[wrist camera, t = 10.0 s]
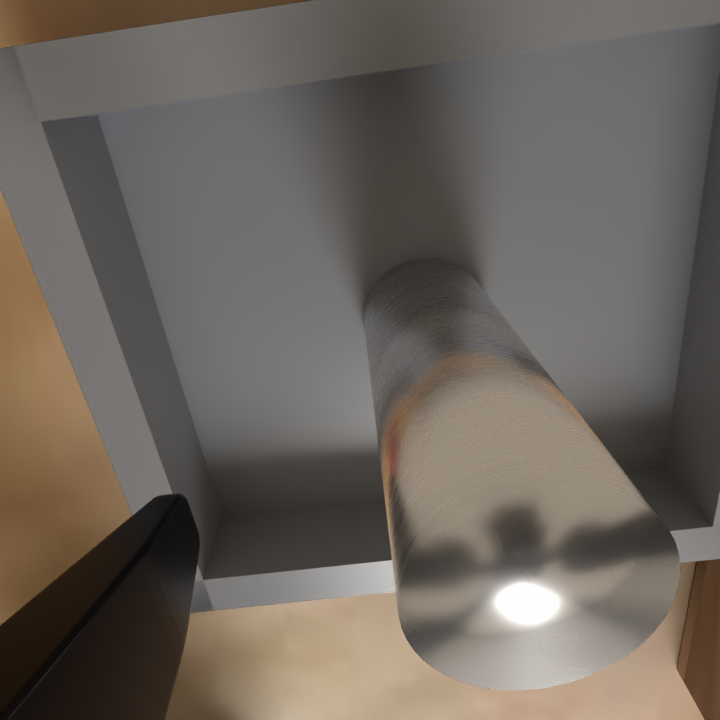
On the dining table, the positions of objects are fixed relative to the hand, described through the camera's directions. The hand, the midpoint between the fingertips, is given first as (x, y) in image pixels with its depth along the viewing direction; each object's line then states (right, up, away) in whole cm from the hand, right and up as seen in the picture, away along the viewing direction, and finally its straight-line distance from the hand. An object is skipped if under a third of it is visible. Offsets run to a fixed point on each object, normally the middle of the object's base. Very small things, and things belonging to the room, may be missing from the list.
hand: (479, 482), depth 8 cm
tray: (0, +3, +7) cm, 8 cm away
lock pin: (0, +3, +6) cm, 7 cm away
